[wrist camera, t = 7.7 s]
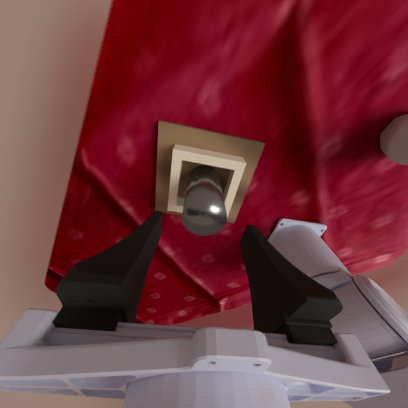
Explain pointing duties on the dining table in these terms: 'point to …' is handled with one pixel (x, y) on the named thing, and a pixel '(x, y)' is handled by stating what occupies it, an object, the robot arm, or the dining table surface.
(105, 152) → the dining table surface
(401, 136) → the salt shaker
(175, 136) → the socket board
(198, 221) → the peg
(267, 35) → the dining table surface
